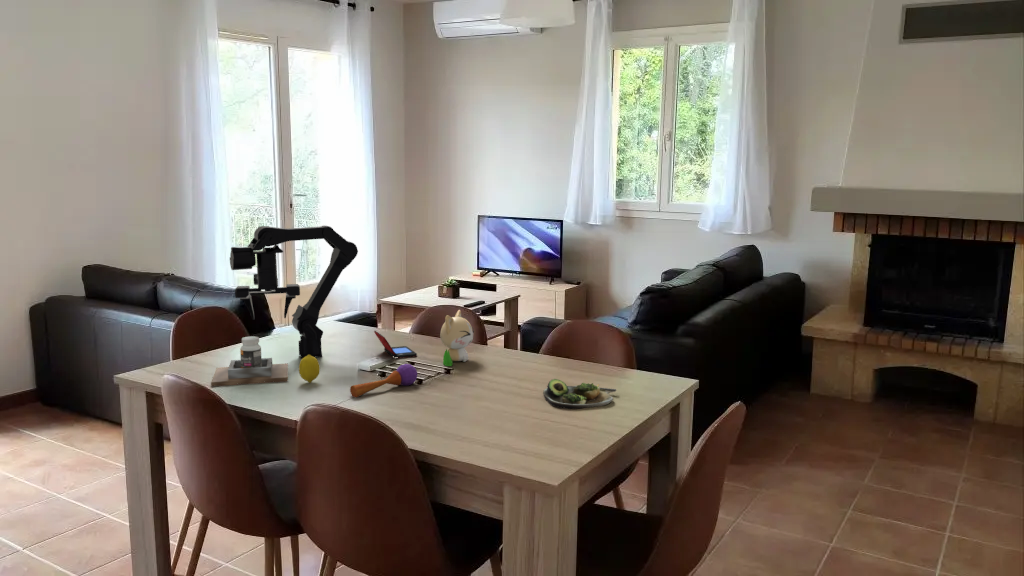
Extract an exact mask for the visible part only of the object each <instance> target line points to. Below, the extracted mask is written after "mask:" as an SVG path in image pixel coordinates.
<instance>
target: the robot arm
mask: <svg viewBox="0 0 1024 576" xmlns="http://www.w3.org/2000/svg"><path fill="white" fill-rule="evenodd" d="M308 240H324V241H325V242H326V243H327V244H328V245H329V246H330V247H331V248H332V252H331V255H330V261H329V264H328V267H327V268H326V269H325V271H324V273H323V275H322V276H321V279H320V280H319V281H318V283H317V285H316V287H315V289H314V290H313V292H312V294H311V296H310V297H309V298H308V301H307V302H306V303H305V304H304V305H303V306H302V305H300V304H298V305H297V308H296V310H295V311H294V313H293V314H292V315H291V316H292V320H291V324H292V327H293V328H294V329H295V330H296V331H297V332H298V333H299V335H300V337H299V338H300V340H298V355H299V356H300V359H303V358H304V357H306V356H307V355H311V356H313V357H315V358H322V357H323V351H322V337H323V335H324V331H323V330H322V329H321V328H320V327H318V326H317V323H318V321H319V318H320V311H321V308H322V307H323V305H324V304H325V301H326V300H327V298H328V296H329V295H330V293H331V291H332V289H333V288H334V286H335V284H336V282H337V281H338V279H339V277H340V275H341V274H342V272H343V270H345V269H346V268H347V267H348V266H349V265H350V264H351V263H352V262H353V261H354V259H355V258H357V256H358V252H359V250H358V247H357V245H356V244H355V243H354V242H352V241H348V240H347V239H345V238H344V237H343V236H341V235H340V234H339V233H338V232H337V231H335V230H334V228H333V227H331V226H328V225H321V226H306V227H305V226H304V227H291V228H288V227H287V228H285V227H284V228H283V227H277V226H276V227H275V226H267V225H262V226H259V227H257V228H256V229H255V231H254V233H253V238H252V240H251V241H250V242H249V244H248V245H247V246H243V247H238V246H232V247H231V248H230V257H229V265H230V269H231V271H239V270H240V271H241V270H252V269H253V267H255V266H256V273H254V274H253V285H254V286H257V287H255V288H250V285H238V286H236V288H235V289H234V296H235V299H239V301H241V302H242V301H243V302H244V304H245V306H246V307H247V310H248V311H249V313H250V316H251V319H252V320H255V311H254V307H253V299H252V295H274V294H275V295H277V294H285V300H284V311H283V317H284V319H287V314H288V312H289V311H288V310H289V307H290V305H291V303H292V301H293V299H296V297H297V296H301V287H300V285H299V283H292V284H291V283H290V284H289V283H288V284H285V285H286V286H283V287H280V286H279V279H278V265H277V264H278V263H277V254H283V253H284V250H283V249H282V248H280V246H279V245H280V244H283V243H286V242H296V241H297V242H298V241H308Z"/></svg>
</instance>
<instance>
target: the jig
mask: <svg viewBox="0 0 1024 576" xmlns="http://www.w3.org/2000/svg"><path fill="white" fill-rule="evenodd" d="M261 358H262V357H261ZM288 375H289V363H273V358H272V357H264V358H262V367H253V368H241V359H231V360H230V362H229V366H222V367H221V366H219V367H216V368H215V370H214V373H213V376H212V379H211V381H210V386H211V387H223V386H226V387H227V386H239V385H240V386H241V385H252V384H253V385H255V384H268V383H269V384H270V383H282V382H283V383H284V382H288V377H289V376H288Z"/></svg>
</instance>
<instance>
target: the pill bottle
mask: <svg viewBox="0 0 1024 576" xmlns="http://www.w3.org/2000/svg"><path fill="white" fill-rule="evenodd" d="M259 343H260V337H259V336H254V335H253V336H252V335H251V336H245V337H244V336H243V337H242V338H241V344H242V345H241V347H240V348H239V349H240V351H239V352H240V353H239V354H240V360H241V368H253V367H262V346H261V345H260V344H259Z"/></svg>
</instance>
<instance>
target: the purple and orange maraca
mask: <svg viewBox="0 0 1024 576" xmlns="http://www.w3.org/2000/svg"><path fill="white" fill-rule="evenodd" d="M417 378H418V371H417V368H416V367H414V366H413V365H412V364H410V363H404V364H401V365H399V366H398V367H397V369H396V370H393V371H392V372H391V373H390V374H389V375H388V376H387V377H386V378H385V379H380V380H376V381H369V382H365V383H359V384H355V385H354V384H353V385H351V386H349V391H350V395H351V396H352V397H354V398H359V397H361V396H362V395H365V394H367V393H369V392H371V391H374V390H376V389H377V388H380V387H382V386H384V385H386V384H387V385H393V386H400V385H401V386H404V387H405V386H410V385H413V384H414V383H416V381H417Z"/></svg>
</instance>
